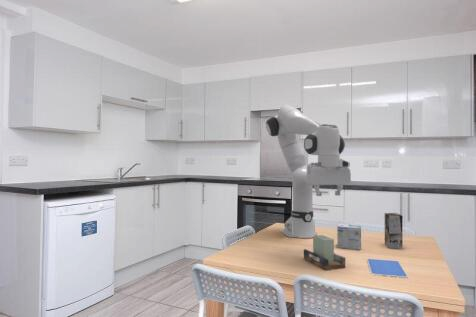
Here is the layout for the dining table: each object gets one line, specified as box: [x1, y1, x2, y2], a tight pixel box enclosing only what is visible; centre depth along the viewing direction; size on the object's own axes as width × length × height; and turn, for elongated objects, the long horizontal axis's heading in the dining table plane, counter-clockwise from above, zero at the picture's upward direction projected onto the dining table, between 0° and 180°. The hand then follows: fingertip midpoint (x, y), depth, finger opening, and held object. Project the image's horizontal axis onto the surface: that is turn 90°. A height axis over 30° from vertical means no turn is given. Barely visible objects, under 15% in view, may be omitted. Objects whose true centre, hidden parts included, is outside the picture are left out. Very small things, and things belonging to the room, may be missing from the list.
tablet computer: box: [366, 258, 409, 279], centre depth 127 cm, size 19×13×1 cm, turn 163°
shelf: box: [303, 248, 346, 271], centre depth 134 cm, size 16×9×4 cm, turn 20°
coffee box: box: [384, 212, 404, 250], centre depth 161 cm, size 9×6×16 cm
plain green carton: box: [312, 234, 335, 262], centre depth 134 cm, size 5×8×9 cm, turn 21°
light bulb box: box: [336, 223, 362, 251], centre depth 159 cm, size 11×7×11 cm, turn 65°
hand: (328, 195), depth 135 cm, fingers open, 8 cm apart
